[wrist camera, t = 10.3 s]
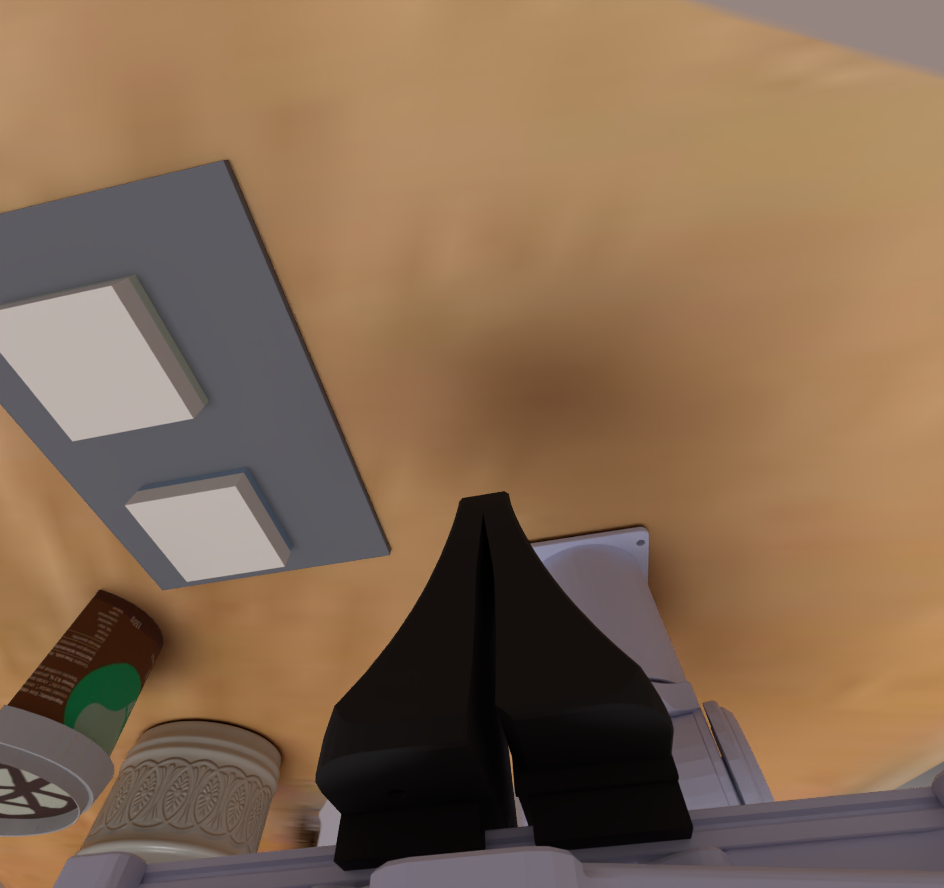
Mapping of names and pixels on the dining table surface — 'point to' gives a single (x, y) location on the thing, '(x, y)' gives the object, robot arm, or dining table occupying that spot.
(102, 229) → the mat
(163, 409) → the tile sage
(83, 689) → the food container
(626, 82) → the dining table surface
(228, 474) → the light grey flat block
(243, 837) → the jar
